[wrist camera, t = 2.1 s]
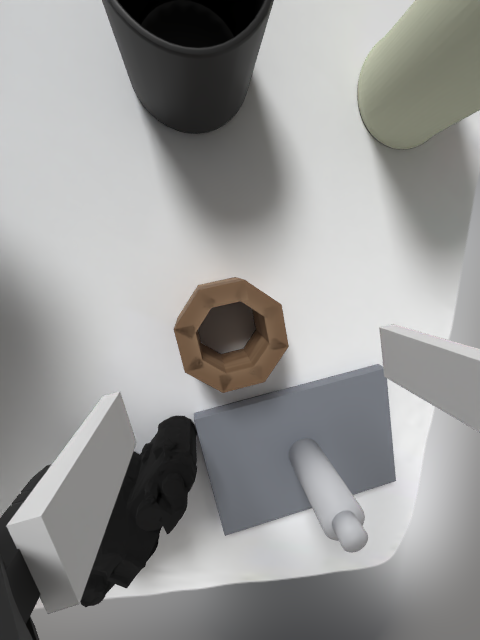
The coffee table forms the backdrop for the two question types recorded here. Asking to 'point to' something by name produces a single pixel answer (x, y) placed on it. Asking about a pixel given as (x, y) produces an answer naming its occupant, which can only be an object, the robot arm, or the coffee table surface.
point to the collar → (239, 364)
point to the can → (422, 73)
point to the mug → (189, 56)
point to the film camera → (145, 507)
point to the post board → (283, 423)
